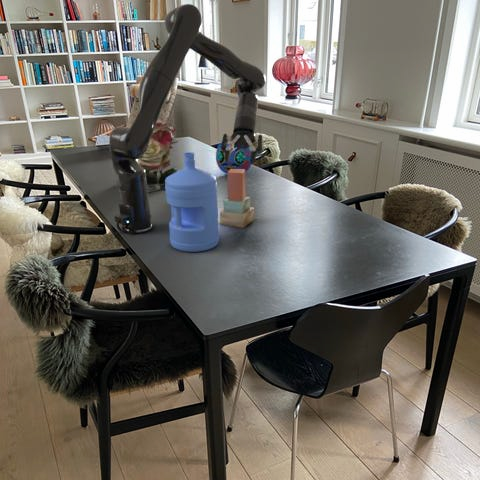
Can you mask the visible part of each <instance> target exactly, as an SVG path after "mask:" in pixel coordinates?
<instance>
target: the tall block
mask: <svg viewBox="0 0 480 480" xmlns="http://www.w3.org/2000/svg"><path fill="white" fill-rule="evenodd" d="M226 176H227V178H226V179H227V198H228V200H232V201H243V200H244V198H245V197H247V196H246V189H247V188H246V172H245V169H230V170H229V171H228V172H227V174H226Z"/></svg>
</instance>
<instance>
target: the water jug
mask: <svg viewBox="0 0 480 480" xmlns="http://www.w3.org/2000/svg"><path fill="white" fill-rule="evenodd" d="M183 156H184V158H183V162H184V167H183V168H182V169H179V170H177V172H176V173H174V174H172V175H170V176H168V177H167V178H166V180H165V189H164V190H165V194H166V202H167V204H169V205H170V213H171V220H170V221H169V223H168V228H169V244H170V246H172V248H174V249H175V250H178V251H180V252H187V253H197V252H199V253H200V252H204V251H209V250H211V249H213V248H215V247H216V246H217V245H218V244H219V241H220V234H219V209H218V183H217V177H216V176H215V175H214V174H212V173H210V172H208V171H205V170H204V169H200V168H198V167H196V158H195V152H191V151H190V152H189V151H188V152H184V153H183Z"/></svg>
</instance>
